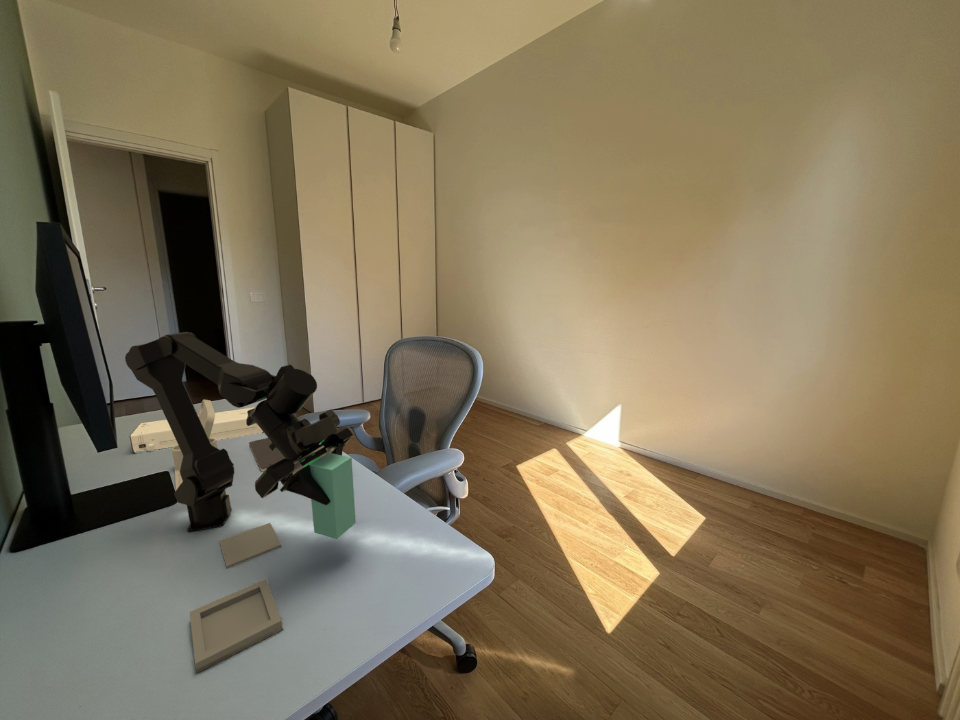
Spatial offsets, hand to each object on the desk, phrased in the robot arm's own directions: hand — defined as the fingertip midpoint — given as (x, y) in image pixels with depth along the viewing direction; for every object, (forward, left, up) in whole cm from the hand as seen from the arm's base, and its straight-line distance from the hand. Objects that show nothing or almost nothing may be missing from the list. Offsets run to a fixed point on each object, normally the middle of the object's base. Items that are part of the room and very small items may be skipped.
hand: (339, 495), depth 70 cm
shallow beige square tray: (-15, -10, -13) cm, 22 cm away
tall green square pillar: (-1, +1, -7) cm, 7 cm away
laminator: (-44, +72, -14) cm, 85 cm away
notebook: (-20, +53, -14) cm, 58 cm away
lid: (-18, +10, -14) cm, 24 cm away
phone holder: (-37, +45, -13) cm, 60 cm away
